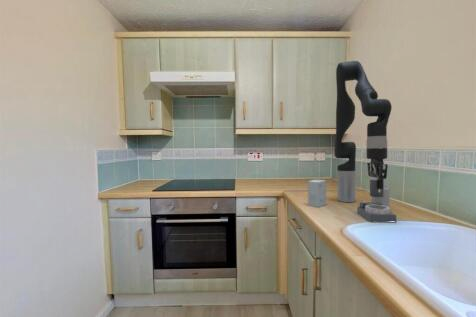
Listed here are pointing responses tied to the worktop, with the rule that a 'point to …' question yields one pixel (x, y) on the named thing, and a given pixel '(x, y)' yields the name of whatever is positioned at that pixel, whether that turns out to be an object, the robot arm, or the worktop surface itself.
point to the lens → (375, 186)
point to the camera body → (375, 211)
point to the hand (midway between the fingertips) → (376, 187)
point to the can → (385, 199)
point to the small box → (317, 193)
